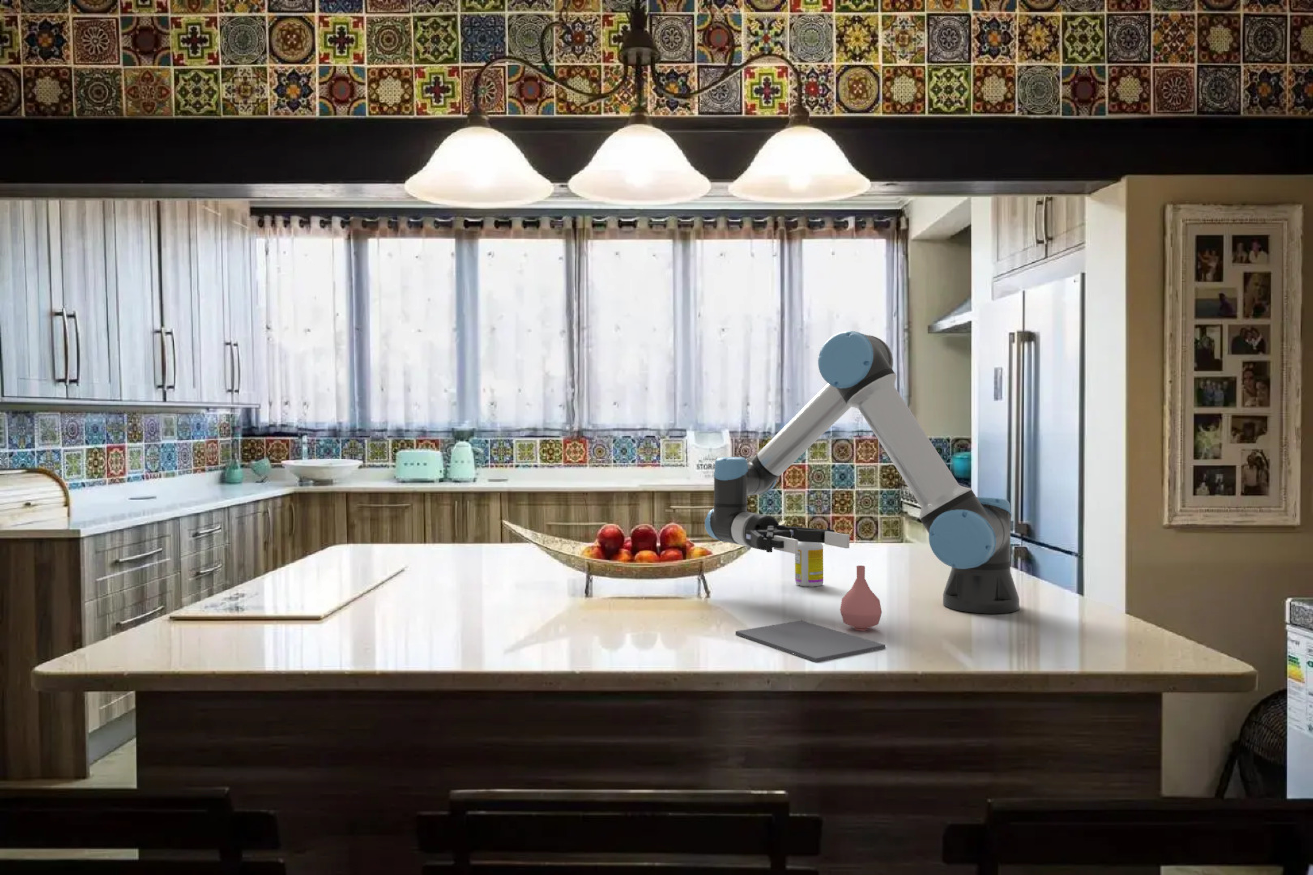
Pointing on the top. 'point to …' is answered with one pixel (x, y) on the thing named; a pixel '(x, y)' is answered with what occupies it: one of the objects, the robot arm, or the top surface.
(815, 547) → the supplement bottle
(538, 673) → the top surface
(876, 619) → the pink vase
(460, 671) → the top surface
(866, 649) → the mat
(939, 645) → the top surface
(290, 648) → the top surface
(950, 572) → the robot arm
